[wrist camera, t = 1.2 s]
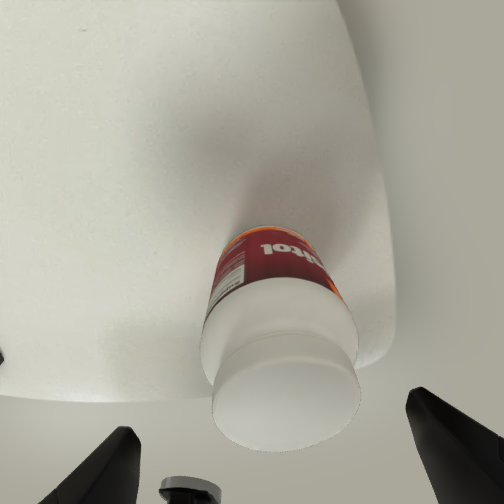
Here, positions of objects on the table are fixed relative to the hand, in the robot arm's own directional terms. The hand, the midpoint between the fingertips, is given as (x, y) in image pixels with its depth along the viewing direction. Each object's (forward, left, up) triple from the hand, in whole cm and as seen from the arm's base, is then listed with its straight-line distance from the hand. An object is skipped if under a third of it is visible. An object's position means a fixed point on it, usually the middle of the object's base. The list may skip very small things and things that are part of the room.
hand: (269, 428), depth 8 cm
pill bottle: (0, -1, -12) cm, 12 cm away
